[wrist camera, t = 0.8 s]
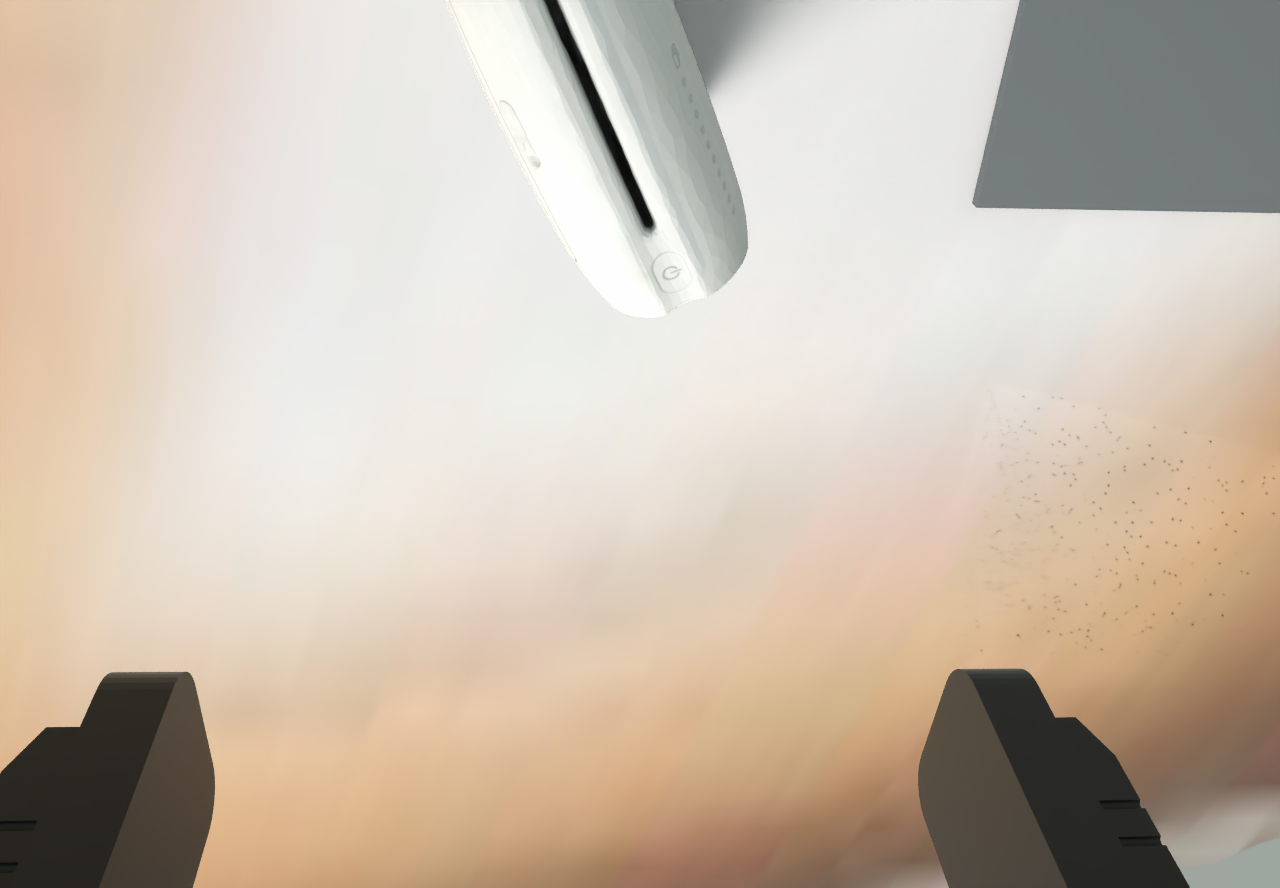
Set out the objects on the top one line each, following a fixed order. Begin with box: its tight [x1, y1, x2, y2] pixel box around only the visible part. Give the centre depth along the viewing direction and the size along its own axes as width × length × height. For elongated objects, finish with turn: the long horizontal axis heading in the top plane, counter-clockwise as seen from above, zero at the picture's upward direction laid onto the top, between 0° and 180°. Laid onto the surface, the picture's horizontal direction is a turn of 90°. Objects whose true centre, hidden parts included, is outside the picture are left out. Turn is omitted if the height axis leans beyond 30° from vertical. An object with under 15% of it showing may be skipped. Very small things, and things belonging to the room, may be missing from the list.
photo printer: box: [444, 0, 748, 318], centre depth 25 cm, size 10×4×12 cm, turn 22°
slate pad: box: [972, 0, 1280, 213], centre depth 32 cm, size 12×10×1 cm
